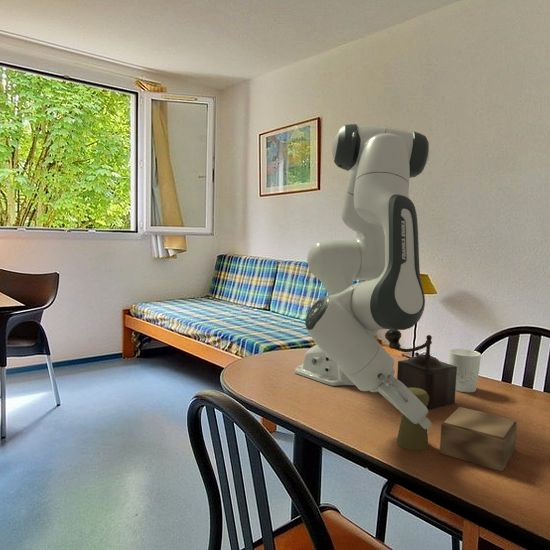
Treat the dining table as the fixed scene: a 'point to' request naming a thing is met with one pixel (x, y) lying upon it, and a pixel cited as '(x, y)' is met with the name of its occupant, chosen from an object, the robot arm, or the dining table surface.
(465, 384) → the white cup
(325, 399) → the dining table surface
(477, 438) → the walnut block
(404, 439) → the olive knobbed peg
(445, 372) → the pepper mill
